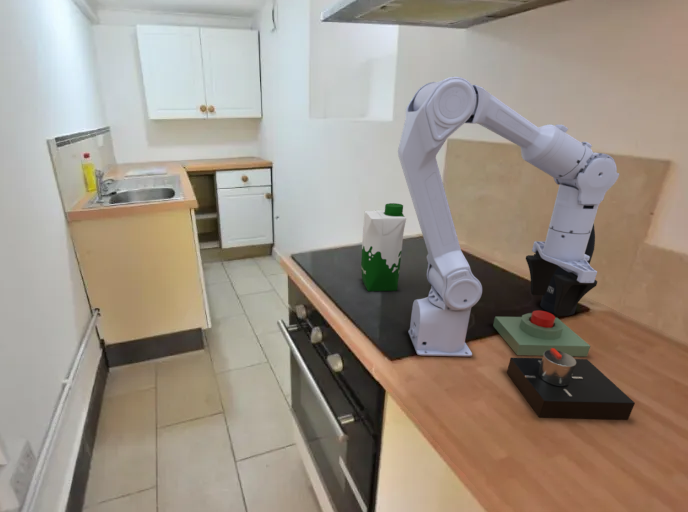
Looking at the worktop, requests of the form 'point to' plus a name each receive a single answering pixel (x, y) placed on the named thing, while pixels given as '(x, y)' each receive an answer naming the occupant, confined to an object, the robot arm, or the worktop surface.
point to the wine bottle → (550, 294)
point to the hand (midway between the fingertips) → (549, 304)
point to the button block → (539, 337)
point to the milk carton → (382, 247)
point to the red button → (542, 319)
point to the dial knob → (557, 367)
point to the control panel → (570, 392)
